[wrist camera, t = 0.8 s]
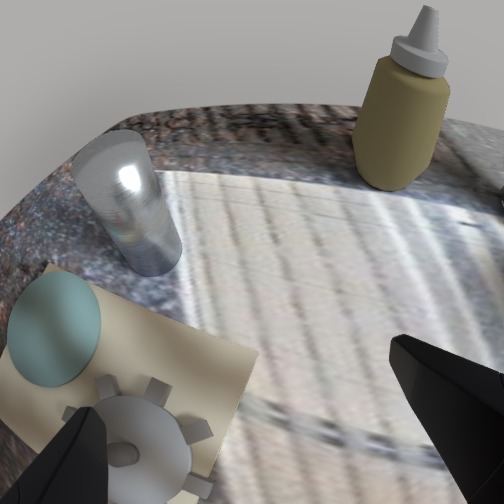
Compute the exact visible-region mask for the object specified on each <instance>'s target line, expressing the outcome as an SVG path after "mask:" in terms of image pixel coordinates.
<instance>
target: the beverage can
mask: <svg viewBox="0 0 504 504" xmlns="http://www.w3.org/2000/svg"><path fill="white" fill-rule="evenodd" d="M500 194H501V198H502V204H503V207H504V186H503V188H502V189H501V192H500Z"/></svg>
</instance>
